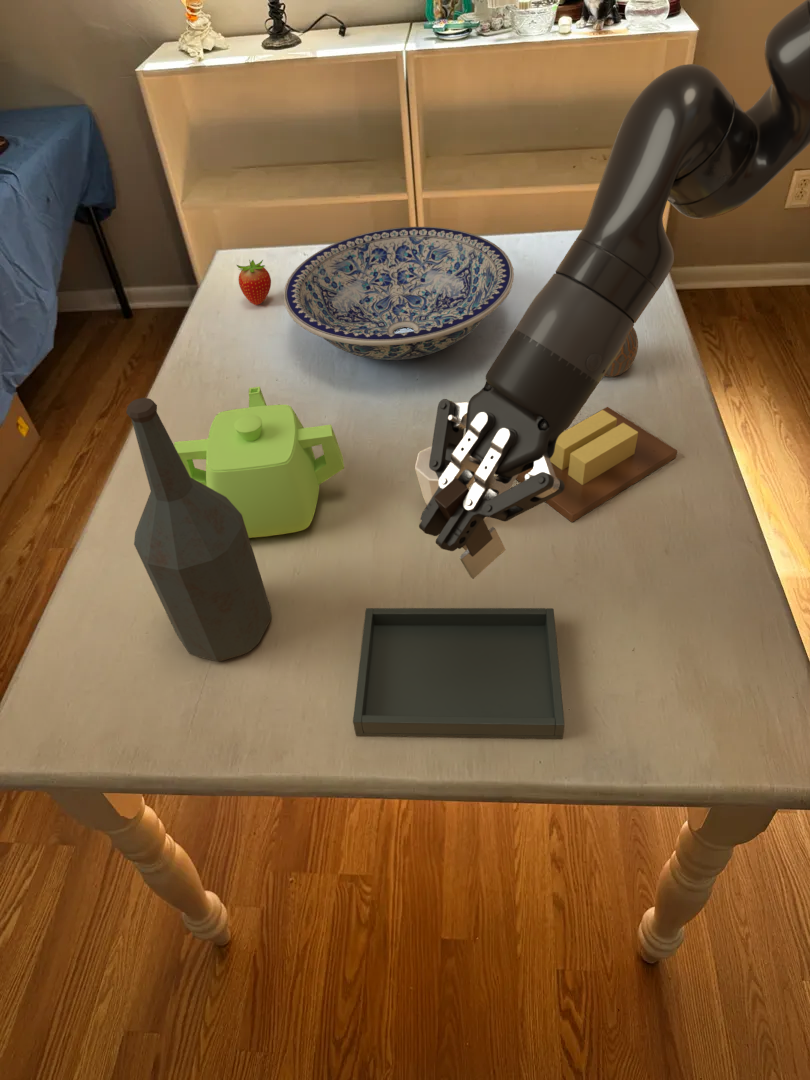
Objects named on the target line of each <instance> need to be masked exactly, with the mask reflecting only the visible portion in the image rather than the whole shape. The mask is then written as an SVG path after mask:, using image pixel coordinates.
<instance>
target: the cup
mask: <svg viewBox="0 0 810 1080" xmlns="http://www.w3.org/2000/svg"><path fill="white" fill-rule="evenodd" d="M431 448H432V445H430V446H428V447H426V448H424V449H422V450H421V451H419V452H418V453H417V458H416V461H415V465H414V471H415V473H416V478H417V480H418V484H419V487H420V491H421V495H422V497H423V500H424V502H425V505H426V506H427V505H428V503H429V501H430V500H431V498H432V497H433V495H434V494H435V492H436V491H437V489H438V487H439V484H438V481H439V478H438V476H437V474H436V472H435V471H433V470H431V469H430V467H429V461H430V455H431ZM470 457H471V456H470ZM474 481H475V480H474ZM474 481H473V483H474ZM473 483H472V484H471V485H473ZM468 489H469V490H470V487H469V488H468ZM487 518H488V517H486V518H485V519H487Z"/></svg>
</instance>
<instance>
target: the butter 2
mask: <svg viewBox="0 0 810 1080" xmlns="http://www.w3.org/2000/svg"><path fill="white" fill-rule="evenodd" d="M637 437H638V432H637V431H636V430H634V429H633V428H631V427H629V426H628V425H626V424H625V423H622V424H620V425H618V426H617V427H615V428H613V429H612V430H610V431H608V432H606V433H605V434H603V435H601V436H599V437H598V438H596V439H594V440H593V441H591V442H589V443H587V444H586V445H584V446H582V447H581V448H579V449H577V450H575V451H574V452H572V453H570V462H569V471H568V475H569V476H570V477H572V478H573V479H575V480H576V481H577V482H579V483H580V484H581V485H584V484H585V483H587V482H589V481H590V480H592V479H594V478H595V477H597V476H599V475H600V474H602V473H604V472H605V471H607V470H608V469H610V468H612V467H613V466H615V465H617V464H618V463H620V462H622V461H623V460H625V459H627V458H628V457H630V456H632V455H633V454H634V453H635V448H636V442H637Z"/></svg>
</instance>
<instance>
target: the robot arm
mask: <svg viewBox="0 0 810 1080" xmlns="http://www.w3.org/2000/svg"><path fill="white" fill-rule="evenodd" d="M763 50H764V52H763V53H764V61H765V65H766V70H767V73H768V77H769V79H770V82H771V84H770V85H769V87H768V88H767V90H765V92H764V93H763V94H762V95H761V97H760V98H759V99H758V100H757V101H756V102H755V103H754V105H752V106H751V107H750V108H749V109H747V110H744V109H743V108H742V106H741V105H740V104H739V102H738V101H737V100H736V99H735V97H734V96H733V94H731V92H730V91H729V90H728V89H727V87H726V85H724V83H723V82H722V81H721V79H720V78H719V76H717V75H716V74H715V73H714V72H713V71H712V70H710V69H709V68H708V67H706V66H704V65H700V64H695V63H688V64H680V65H678V66H675V67H672V68H670V69H668V70H665V72H663V73H661V74H660V75H659V76H657V77H656V78H654V79H653V80H652V81H651V82H650V83H648V85H647V86H646V87H645V88H644V89H643V90H642V91H641V92H640V93H639V94H638V96H637V97H636V98H635V100H634V101H633V103H632V104H631V105H630V107H629V109H628V111H627V112H626V113H625V116H624V118H623V119H622V122H621V124H620V127H619V129H618V131H617V134H616V136H615V139H614V141H613V144H612V147H611V150H610V154H609V156H608V159H607V162H606V165H605V168H604V171H603V174H602V177H601V180H600V182H599V185H598V188H597V190H596V193H595V196H594V199H593V201H592V205H591V209H590V211H589V215H588V217H587V220H586V222H585V224H584V227H583V228H582V229H581V231H580V232H579V234H578V236H577V237H576V238H575V240H574V242H573V243H572V245H571V246H570V248H569V250H568V251H567V252H566V254H565V255H564V257H563V259H562V260H561V262H560V263H559V265H558V266H557V268H556V270H555V271H554V272H555V273H553V274H552V276H551V277H550V279H549V280H548V281H547V283H546V284H545V285H544V286H543V288H541V289H540V291H539V292H538V293H537V294H536V296H534V298H533V300H532V301H531V303H529V306H528V308H527V309H526V310H525V312H524V314H523V315H522V317H521V319H520V320H519V322H518V323H517V325H516V326H515V328H514V329H513V331H512V333H511V334H510V336H509V337H508V339H507V341H506V342H505V344H504V345H503V347H502V348H501V349H500V352H499V353H498V355H497V356H496V357H495V359H494V361H493V362H492V364H491V366H490V367H489V369H488V370H487V372H486V373H485V384H484V386H483V387H482V388H481V390H479V391H478V392H477V393H475V394H474V395H473V396H471V398H470V399H469V401H465V402H464V401H463V402H462V401H460V402H459V401H458V402H454V401H452V400H450V399H447V398H443V399H441V400H440V401H439V402H438V405H437V410H436V416H435V423H434V429H433V436H432V442H431V446H432V448H431V455H430V461H429V467H430V469H431V470H433V471H435V472H436V474H437V476H438V478H439V481H438V484H439V487H438V489H437V491H436V492H435V494H434V495H433V497H432V498H431V500H430V501H429V503H428V505H426V506H425V508H424V509H423V510H422V512H421V515H420V522H419V525H418V528H419V529H420V530H421V531H422V532H423V533H424V534H426V535H430V536H434V537H436V538H435V544H436V545H437V546H438V547H439V548H440V549H441V550H445V551H449V552H454V551H456V550H457V549H458V550H460V549H463V548H462V547H463V546H465V544H466V543H467V541H468V539H469V538H470V537H471V535H472V534H473V532H474V531H475V529H476V528H477V526H478V525H479V523H480V522H481V521H482V520H483V519H487V518H490V519H495V520H499V521H501V522H508V521H511V520H512V519H514V518H516V517H518V516H520V515H522V514H523V513H526V512H528V511H529V510H531V509H533V508H535V507H538V506H540V505H541V504H543V503H546V502H545V501H547V500H549V499H551V498H553V497H555V496H557V495H559V494H560V493H562V492H563V490H564V487H565V484H564V482H563V481H562V480H561V479H559V478H557V477H556V476H555V473H554V470H553V467H552V464H551V461H550V458H551V457H552V456H553V454H554V451H555V445H556V441H557V439H558V437H559V435H560V434H561V433H562V432H563V431H565V430H567V429H569V428H570V427H571V425H572V423H573V421H575V419H576V417H577V416H578V414H579V413H580V412H581V410H582V408H583V407H584V406H585V404H586V403H587V401H588V400H589V399H590V397H591V395H592V394H593V392H594V391H595V390H596V388H597V387H598V385H599V384H600V382H601V381H602V379H603V378H604V377H605V376H604V375H605V373H606V372H607V370H608V369H609V367H610V366H611V364H612V363H613V361H614V360H615V359H616V357H617V355H618V354H619V352H620V350H621V348H622V347H623V345H624V343H625V341H626V339H627V337H628V335H629V333H630V331H631V329H632V328H633V327H634V326H635V324H636V323H637V321H638V320H639V319H640V317H641V316H642V314H643V313H644V311H645V310H646V308H647V306H648V305H649V304H650V302H651V301H652V299H653V298H654V297H655V295H656V294H657V292H658V291H659V289H660V288H661V286H662V285H663V284H664V282H665V280H666V279H667V277H668V276H669V274H670V272H671V270H672V268H673V266H674V263H675V251H674V248H673V246H672V243H671V240H670V238H669V237H668V234H667V233H666V229H665V227H664V221H663V220H664V213H665V210H666V206H667V203H670V205H671V206H673V207H674V209H675V210H677V212H679V213H680V214H682V215H683V216H685V217H688V218H690V219H697V220H698V219H699V220H701V219H703V220H704V219H710V218H715V217H719V216H722V215H725V214H727V213H730V212H732V211H734V210H736V209H738V208H740V207H741V206H743V205H745V204H746V203H747V202H749V201H750V200H751V199H753V198H754V197H755V196H756V195H757V194H759V193H760V192H761V191H762V190H763V189H764V188H765V187H766V186H767V185H769V183H770V182H771V181H772V180H773V179H774V178H776V177H777V175H779V174H780V173H781V172H782V171H784V169H785V168H786V167H787V166H788V165H789V164H790V163H792V162H793V160H794V159H796V158H797V157H798V156H799V155H800V154H801V153H802V152H803V151H804V150H806V149H807V147H809V145H810V0H804V1H803V2H802V3H800V4H799V5H797V6H795V8H793V9H792V10H791V11H789V12H788V13H787V14H786V15H784V16H783V17H782V18H781V19H780V20H779V21H778V22H776V23H775V25H773V27H772V28H771V29H770V31H769V32H768V34H767V36H766V39H765V42H764V49H763ZM464 433H465V434H464ZM470 456H471V457H470ZM531 468H533V469H532V470H531V471H530V472H529V473H528V474H526V475H525V477H524V478H525V481H523V482H521V483H520V482H519V483H518V484H516V485H513V484H514V482H515V481H516V480H517V479H516V478H517V476H518V474H520V473H522V472H525V471H527V470H529V469H531ZM455 478H457V479H458V480H459V481H460V482H461V483H463V484H464V485H465V486H466V487H467V488H469V492H468V493H467V495H466V497H465V498H464V500H463V506H460V505H459V506H458V508H457V509H456V511H455V512H454V514H453V515H452V517H451V518H450V519H449V521H448V522H447V521H446V519H445V517H444V515H443V514H442V512H441V510H440V508H439V507H438V505H437V503H436V501H435V500H434V496H436V495H437V494H438V493H439V492H440V491H441V490H442V489H443V488H445V487H446V486H447V485H448V484H449V483H450V482H451V481H452V480H454V479H455ZM474 480H475V481H474ZM473 481H474V483H473ZM472 483H473V484H472ZM486 517H487V518H486Z"/></svg>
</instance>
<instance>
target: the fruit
mask: <svg viewBox="0 0 810 1080" xmlns="http://www.w3.org/2000/svg"><path fill="white" fill-rule="evenodd" d="M263 262H264V259H262V260H261V261H260V262H258V263H255V261H254V259H252V260H251V259H249V265H239V264H236V267H237V269H238V270H239V271H240V272H239V274H238V286H239V287H240V290H241V292H242V294H243V295H244V297H245V298H246V300H247V301H249V302H250V303H251V304H252V305H254V306H258V305H261V304H263V303H264V302H265V300H266V299H267V297H268V295H269V293H270V291H271V287H272V278H271V274H270V273H269V271H268V270H267V268H265V267H266V265H265V264H264V265H263V264H262V263H263ZM261 264H262V265H261Z"/></svg>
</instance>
